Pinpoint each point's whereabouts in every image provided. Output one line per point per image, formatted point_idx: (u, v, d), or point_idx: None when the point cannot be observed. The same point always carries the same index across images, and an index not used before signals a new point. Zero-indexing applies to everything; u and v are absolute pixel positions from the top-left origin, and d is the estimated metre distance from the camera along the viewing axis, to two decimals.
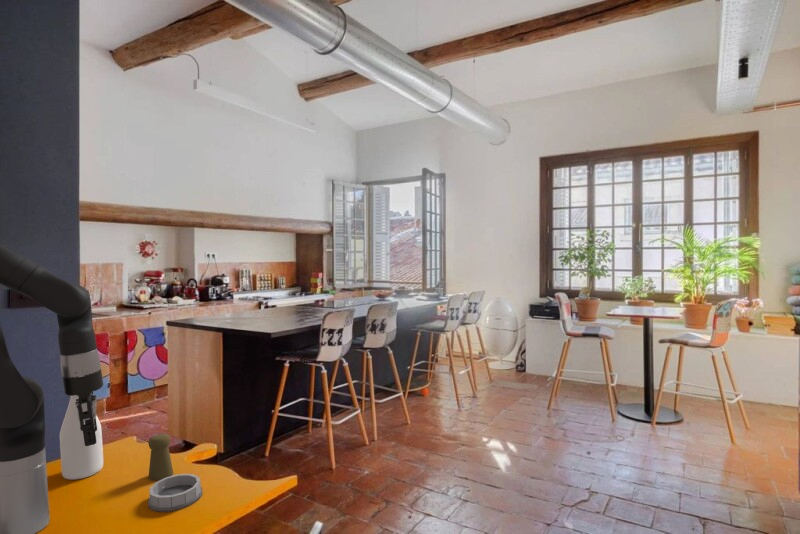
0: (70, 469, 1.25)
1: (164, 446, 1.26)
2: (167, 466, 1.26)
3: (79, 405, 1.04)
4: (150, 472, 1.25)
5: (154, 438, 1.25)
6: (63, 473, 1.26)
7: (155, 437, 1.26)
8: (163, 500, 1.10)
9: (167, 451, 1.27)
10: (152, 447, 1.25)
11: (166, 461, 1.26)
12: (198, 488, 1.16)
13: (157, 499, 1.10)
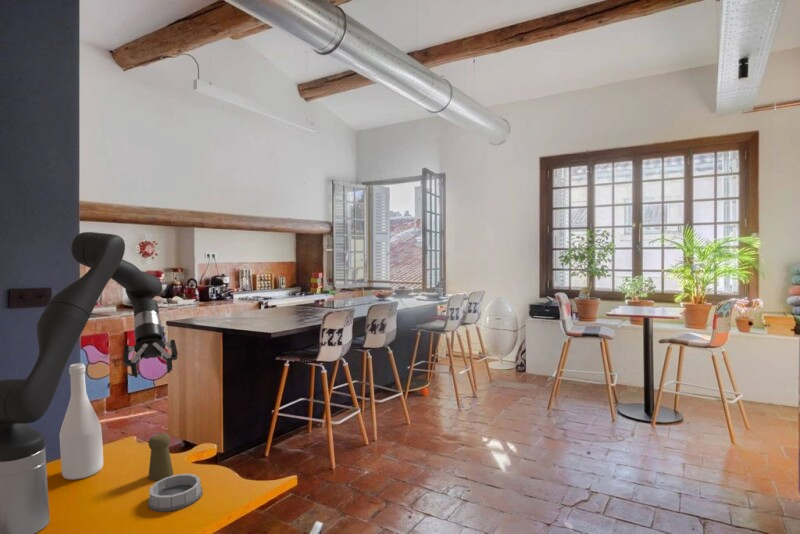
0: (70, 469, 1.25)
1: (164, 446, 1.26)
2: (167, 466, 1.26)
3: None
4: (150, 472, 1.25)
5: (154, 438, 1.25)
6: (63, 473, 1.26)
7: (155, 437, 1.26)
8: (163, 500, 1.10)
9: (167, 451, 1.27)
10: (152, 447, 1.25)
11: (166, 461, 1.26)
12: (198, 488, 1.16)
13: (157, 499, 1.10)
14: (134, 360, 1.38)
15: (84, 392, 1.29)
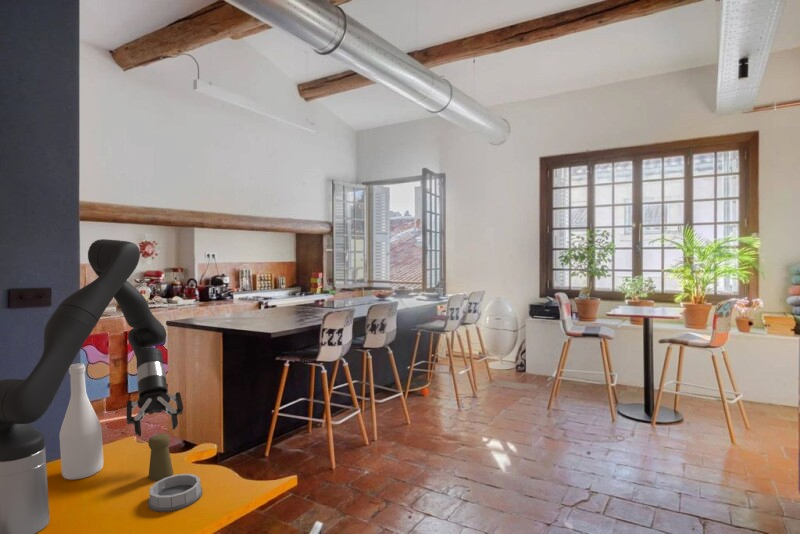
0: (70, 469, 1.25)
1: (164, 446, 1.26)
2: (167, 467, 1.26)
3: None
4: (150, 472, 1.25)
5: (153, 438, 1.25)
6: (63, 473, 1.26)
7: (155, 437, 1.26)
8: (163, 500, 1.10)
9: (167, 451, 1.27)
10: (152, 447, 1.25)
11: (166, 461, 1.26)
12: (198, 488, 1.16)
13: (157, 499, 1.10)
14: (138, 417, 1.31)
15: (84, 392, 1.29)
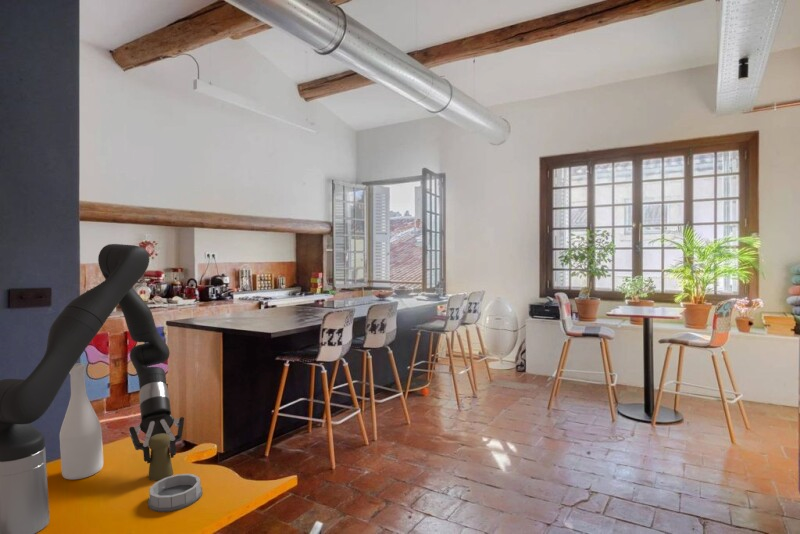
0: (70, 469, 1.25)
1: (164, 445, 1.26)
2: (167, 466, 1.26)
3: (183, 418, 1.34)
4: (150, 472, 1.25)
5: (153, 438, 1.25)
6: (63, 473, 1.26)
7: (155, 437, 1.26)
8: (163, 500, 1.10)
9: (167, 451, 1.27)
10: (152, 447, 1.25)
11: (166, 461, 1.26)
12: (198, 488, 1.16)
13: (157, 499, 1.10)
14: (146, 443, 1.26)
15: (84, 392, 1.29)
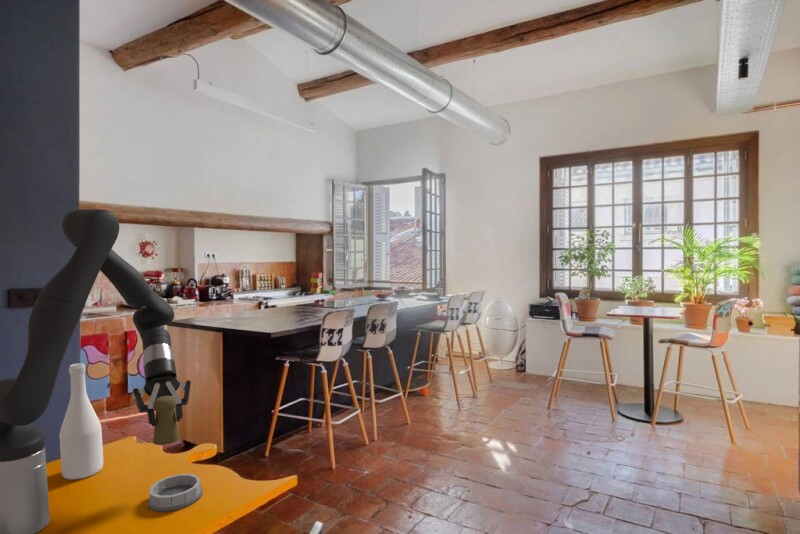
0: (70, 469, 1.25)
1: (170, 408, 1.18)
2: (173, 430, 1.19)
3: None
4: (155, 436, 1.18)
5: (159, 400, 1.18)
6: (63, 473, 1.26)
7: (160, 399, 1.18)
8: (163, 500, 1.10)
9: (173, 414, 1.20)
10: (157, 409, 1.17)
11: (172, 424, 1.19)
12: (198, 488, 1.16)
13: (157, 499, 1.10)
14: (151, 405, 1.18)
15: (84, 392, 1.29)
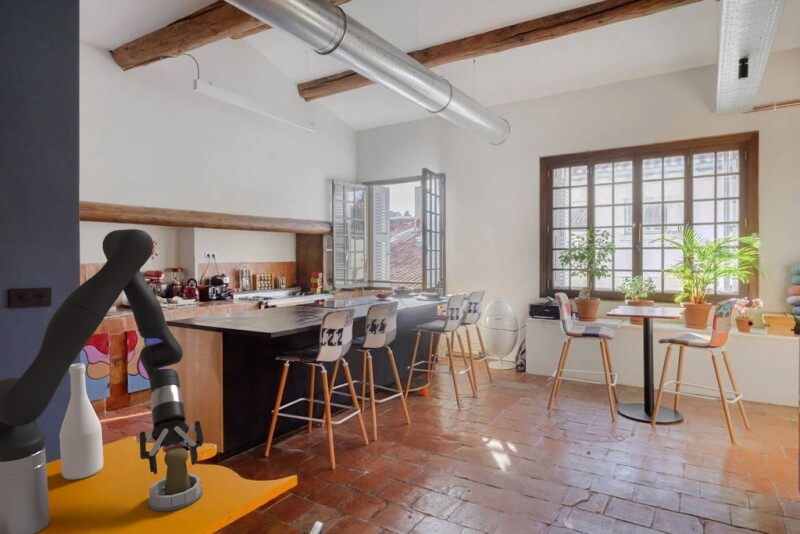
0: (70, 469, 1.25)
1: (182, 461, 1.14)
2: (184, 484, 1.15)
3: None
4: (166, 491, 1.14)
5: (170, 454, 1.14)
6: (63, 473, 1.26)
7: (172, 452, 1.15)
8: (163, 500, 1.10)
9: (185, 467, 1.16)
10: (169, 463, 1.13)
11: (184, 478, 1.15)
12: (198, 488, 1.16)
13: (157, 499, 1.10)
14: (153, 452, 1.14)
15: (84, 392, 1.29)
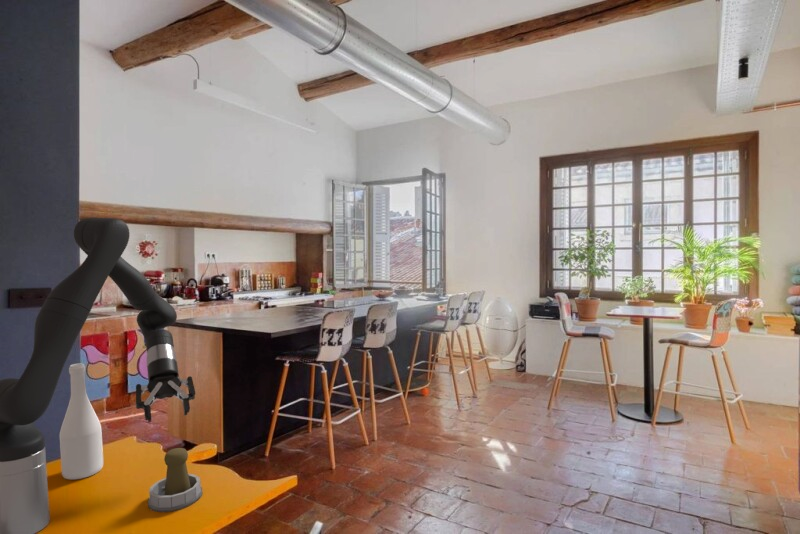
0: (70, 469, 1.25)
1: (182, 462, 1.14)
2: (184, 484, 1.15)
3: None
4: (166, 491, 1.14)
5: (170, 454, 1.14)
6: (63, 473, 1.26)
7: (172, 452, 1.15)
8: (163, 500, 1.10)
9: (185, 467, 1.16)
10: (169, 463, 1.13)
11: (184, 478, 1.15)
12: (198, 488, 1.16)
13: (157, 499, 1.10)
14: (147, 402, 1.23)
15: (84, 392, 1.29)
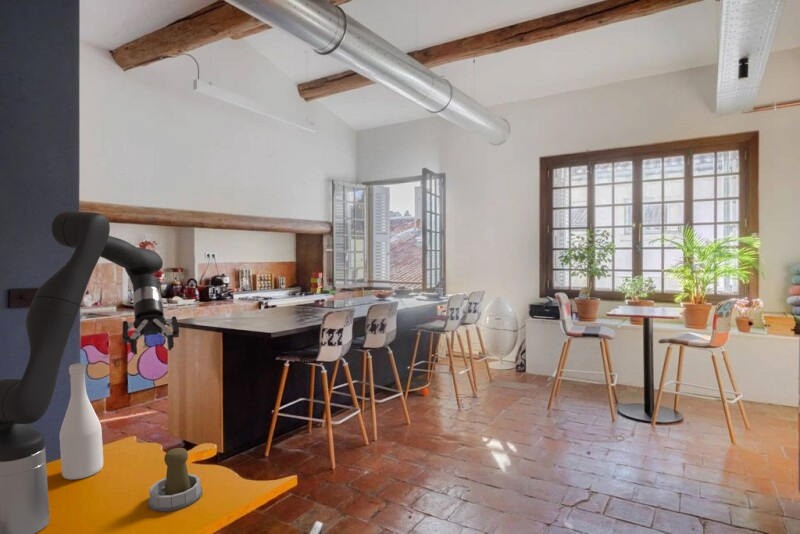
0: (70, 469, 1.25)
1: (182, 462, 1.14)
2: (184, 484, 1.15)
3: None
4: (166, 491, 1.14)
5: (170, 454, 1.14)
6: (63, 473, 1.26)
7: (172, 452, 1.15)
8: (163, 500, 1.10)
9: (185, 467, 1.16)
10: (169, 463, 1.13)
11: (184, 478, 1.15)
12: (198, 488, 1.16)
13: (157, 499, 1.10)
14: (133, 336, 1.31)
15: (84, 392, 1.29)
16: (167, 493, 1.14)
